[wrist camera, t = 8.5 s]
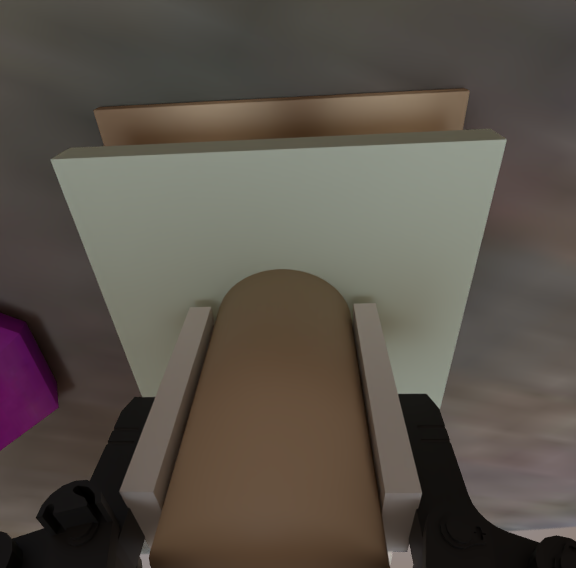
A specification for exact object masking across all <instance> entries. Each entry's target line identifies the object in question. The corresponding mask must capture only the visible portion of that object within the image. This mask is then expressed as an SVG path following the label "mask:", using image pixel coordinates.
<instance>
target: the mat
mask: <svg viewBox="0 0 576 568" xmlns="http://www.w3.org/2000/svg"><path fill="white" fill-rule="evenodd" d="M469 92H470V91H469V90H467V89H464V88H462V89H442V90H423V91H404V92H384V93H365V94H345V95H326V96H307V97H287V98H268V99H249V100H229V101H210V102H191V103H171V104H152V105H133V106H113V107H99V108H97V109H95V110H93V111H94V114H95V117H96V121H97V124H98V127H99V131H100V134H101V137H102V140H103V144H104V146H122V145H144V144H166V143H188V142H210V141H232V140H254V139H276V138H298V137H320V136H342V135H364V134H386V133H408V132H430V131H452V130H463V125H464V119H465V114H466V109H467V103H468V98H469Z"/></svg>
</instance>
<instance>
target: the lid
mask: <svg viewBox="0 0 576 568" xmlns="http://www.w3.org/2000/svg"><path fill="white" fill-rule="evenodd" d="M506 141H507V139H505V138H504V137H502V136H501V135H499V134H498V133H496V132H494V131H493V130H491V129H474V130H452V131H430V132H408V133H386V134H364V135H342V136H320V137H298V138H276V139H254V140H232V141H210V142H188V143H166V144H144V145H122V146H100V147H78V148H69V149H67V150H66V151H64V152H62V153H60V154H59V155H57V156H55V157H54V158H52V159H50V160H51V163H52V165H53V168H54V170H55V173H56V176H57V178H58V181H59V183H60V186H61V189H62V191H63V194H64V196H65V199H66V201H67V204H68V207H69V209H70V212H71V214H72V217H73V220H74V222H75V225H76V227H77V230H78V233H79V235H80V238H81V240H82V243H83V245H84V248H85V251H86V253H87V256H88V258H89V261H90V264H91V266H92V269H93V271H94V274H95V276H96V279H97V282H98V284H99V287H100V289H101V292H102V295H103V297H104V300H105V302H106V305H107V308H108V310H109V313H110V315H111V318H112V320H113V323H114V326H115V328H116V331H117V333H118V336H119V339H120V341H121V344H122V346H123V349H124V352H125V354H126V357H127V359H128V362H129V364H130V367H131V370H132V372H133V375H134V377H135V380H136V383H137V385H138V388H139V390H140V393H141V395H142V397H156V394H157V392H158V389H159V386H160V384H161V381H162V379H163V376H164V373H165V371H166V368H167V366H168V363H169V360H170V358H171V355H172V353H173V350H174V347H175V345H176V342H177V340H178V337H179V334H180V332H181V329H182V327H183V324H184V321H185V319H186V316H187V313H188V311H189V308H190V307H211V309H212V314H213V319H214V324H215V325H214V329H213V332H212V336H211V339H210V343H209V346H208V350H207V353H206V357H205V360H204V364H203V367H202V371H201V374H200V378H199V381H198V385H197V388H196V392H195V395H194V399H193V403H192V406H191V410H190V413H189V417H188V420H187V424H186V427H185V431H184V434H183V438H182V441H181V445H180V448H179V452H178V455H177V459H176V462H175V466H174V470H173V473H172V477H171V480H170V484H169V487H168V491H167V494H166V498H165V501H164V505H163V508H162V512H161V515H160V519H159V522H158V526H157V529H156V533H155V536H154V540H153V544H152V547H151V551H150V556H149V561H150V566H151V568H390V564H389V558H388V551H387V545H386V539H385V532H384V526H383V519H382V514H381V507H380V501H379V494H378V488H377V481H376V475H375V469H374V462H373V456H372V449H371V443H370V436H369V430H368V423H367V417H366V410H365V404H364V397H363V391H362V384H361V378H360V372H359V365H358V359H357V352H356V346H355V339H354V333H353V326H352V322H353V304H360V303H376V307H377V311H378V315H379V319H380V323H381V327H382V331H383V335H384V339H385V343H386V348H387V352H388V356H389V360H390V364H391V368H392V372H393V376H394V380H395V384H396V388H397V392H398V394H427V395H428V396H429V397H430V398H431V399H432V401H433V402H434V403H435V404H436V405H437V407H438V408H439V410H440V406H441V402H442V398H443V394H444V390H445V386H446V382H447V378H448V374H449V370H450V366H451V362H452V358H453V354H454V350H455V346H456V342H457V338H458V334H459V330H460V326H461V322H462V318H463V314H464V310H465V306H466V302H467V298H468V294H469V290H470V286H471V282H472V278H473V274H474V270H475V266H476V262H477V258H478V254H479V250H480V246H481V242H482V238H483V233H484V229H485V225H486V221H487V217H488V213H489V209H490V205H491V201H492V197H493V193H494V189H495V185H496V181H497V177H498V173H499V169H500V165H501V161H502V157H503V153H504V149H505V145H506Z"/></svg>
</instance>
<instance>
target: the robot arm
mask: <svg viewBox="0 0 576 568" xmlns="http://www.w3.org/2000/svg"><path fill="white" fill-rule="evenodd" d="M214 325H215V324H214V319H213V314H212V309H211V307H190V308H189V311H188V313H187V316H186V319H185V321H184V324H183V327H182V329H181V332H180V334H179V337H178V340H177V342H176V345H175V347H174V350H173V353H172V355H171V358H170V360H169V363H168V366H167V368H166V371H165V373H164V376H163V379H162V381H161V384H160V386H159V389H158V392H157V394H156V397H134V398H133V400H132V401H131V402H130V403H129V404H128V405H127V406H126V407H125V408H124V409H123V410H122V411H121V414H120V416H119V418H118V420H117V422H116V425H115V427H114V431H112V433H111V436H110V438H109V440H108V444H107V445H106V447H105V449H104V451H103V453H102V455H101V458H100V460H99V462H98V464H97V466H96V469H95V471H94V473H93V475H92V477H91V480H90V481H88V480H81V481H74V482H71V483H69V484H66V485H63V486H62V487H61V488H59V489H58V490H56V491H55V492H54V493H52V494H51V495H50V496H49V498H48V499H47V500H46V501H45V502H44V503H43V504H42V506H41V508H40V510H39V512H38V514H37V516H36V518H37V520H38V521H39V522H40V523H41V525H42V526H43V527H44V529H41V530H38V531H35V532H32V533H29V534H26V535H22V536H19V537H16V538H13V539H11V537H10V536H9V535H8V534H7V533H4V532H0V568H142V561H141V559H140V557H139V556H140V553H141V550H142V546H143V543H144V540H146V542H147V544H148V546H149V548H150V549H151V547H152V544H153V540H154V536H155V533H156V529H157V526H158V522H159V519H160V515H161V512H162V508H163V505H164V501H165V498H166V494H167V491H168V487H169V484H170V480H171V477H172V473H173V470H174V466H175V462H176V459H177V455H178V452H179V448H180V445H181V441H182V438H183V434H184V431H185V427H186V424H187V420H188V417H189V413H190V410H191V406H192V403H193V399H194V395H195V392H196V388H197V385H198V381H199V378H200V374H201V371H202V367H203V364H204V360H205V357H206V353H207V350H208V346H209V343H210V339H211V336H212V332H213V329H214ZM352 326H353V333H354V339H355V346H356V352H357V359H358V365H359V372H360V378H361V384H362V391H363V397H364V404H365V410H366V417H367V423H368V430H369V436H370V443H371V449H372V456H373V462H374V469H375V475H376V481H377V488H378V494H379V501H380V507H381V514H382V519H383V526H384V532H385V539H386V545H387V551H388V552H407V550H408V546H409V544H410V548H411V554H412V559H413V564H414V565H413V568H576V541H574V540H573V539H570V538H566V537H561V536H552V537H547V538H544V540H542V541H541V542H540V543H539V542H536V541H533V540H530V539H527V538H524V537H521V536H518V535H515V534H512V533H509V532H507V531H504V530H502V529H500V528H498V527H496V526H494V525H493V524H492V523H490V522H489V521H487V520H486V519H485V518H484V517H483V516H482V515H481V514H480V513H479V512H478V511H477V509H476V508H475V506H474V505H473V504H472V502H471V499H470V497H469V495H468V492H467V489H466V486H465V483H464V481H463V478H462V475H461V472H460V469H459V466H458V463H457V460H456V457H455V454H454V451H453V448H452V445H451V443H450V441H449V436H448V433H447V430H446V429H445V425H444V422H443V419H442V416H441V413H440V410H439V408H438V407H437V405H436V404H435V403H434V402H433V401H432V399H431V398H430V397H429V396H428V395H427V394H398V392H397V388H396V384H395V380H394V376H393V372H392V368H391V364H390V360H389V356H388V352H387V348H386V343H385V339H384V335H383V331H382V327H381V323H380V319H379V315H378V311H377V307H376V303H360V304H353V322H352Z"/></svg>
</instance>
